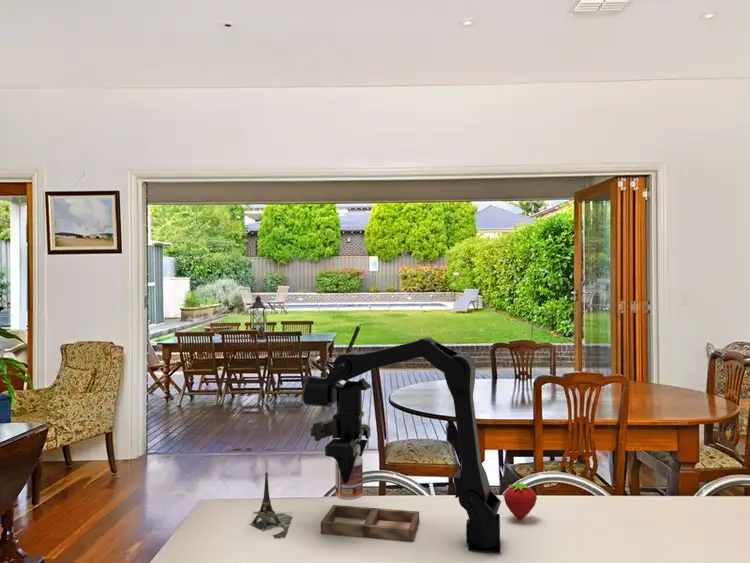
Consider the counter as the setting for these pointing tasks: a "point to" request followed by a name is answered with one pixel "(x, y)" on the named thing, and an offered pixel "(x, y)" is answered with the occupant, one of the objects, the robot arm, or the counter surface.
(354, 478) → the pill bottle
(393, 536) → the caddy
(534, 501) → the strawberry
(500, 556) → the counter surface
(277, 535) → the eiffel tower figurine
